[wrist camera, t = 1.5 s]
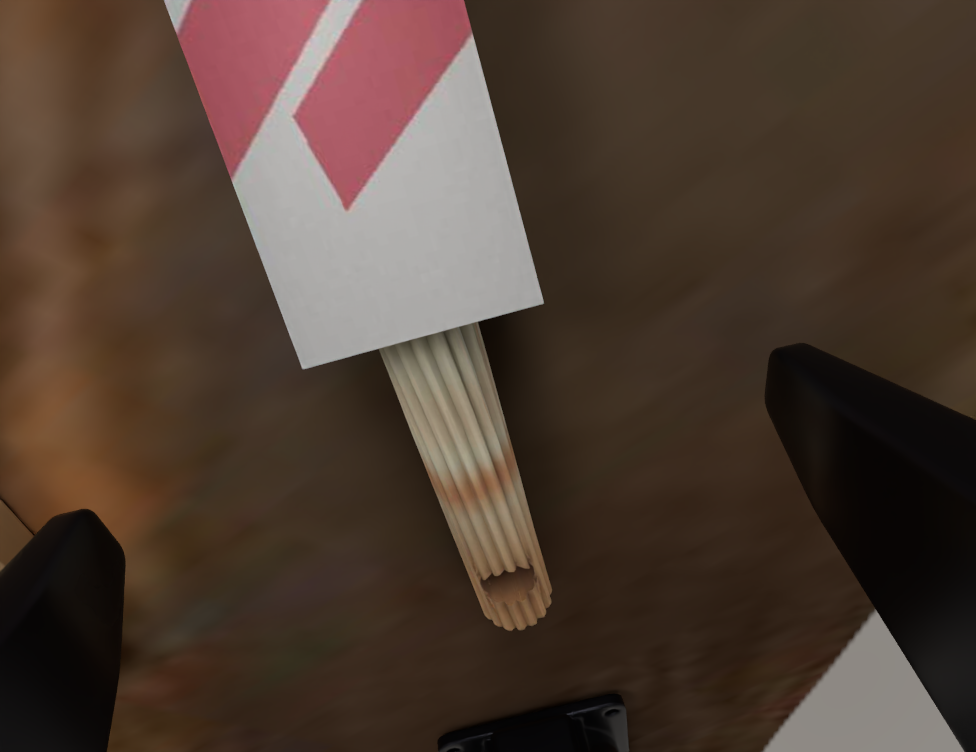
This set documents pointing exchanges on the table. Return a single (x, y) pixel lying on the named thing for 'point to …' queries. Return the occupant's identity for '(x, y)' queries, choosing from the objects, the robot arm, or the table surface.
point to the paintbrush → (386, 230)
